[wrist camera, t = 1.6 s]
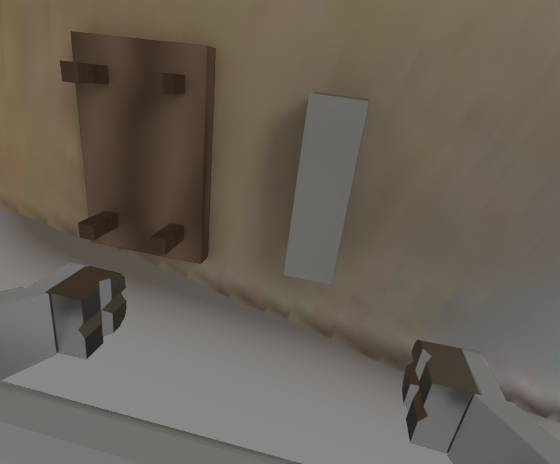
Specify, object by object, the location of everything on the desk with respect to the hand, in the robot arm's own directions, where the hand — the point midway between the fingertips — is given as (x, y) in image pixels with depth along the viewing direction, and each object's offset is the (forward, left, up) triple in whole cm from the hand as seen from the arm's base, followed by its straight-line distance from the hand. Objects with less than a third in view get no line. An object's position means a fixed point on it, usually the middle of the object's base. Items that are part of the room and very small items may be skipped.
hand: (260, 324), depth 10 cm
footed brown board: (+14, 0, -18) cm, 23 cm away
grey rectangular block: (0, 0, -18) cm, 18 cm away
